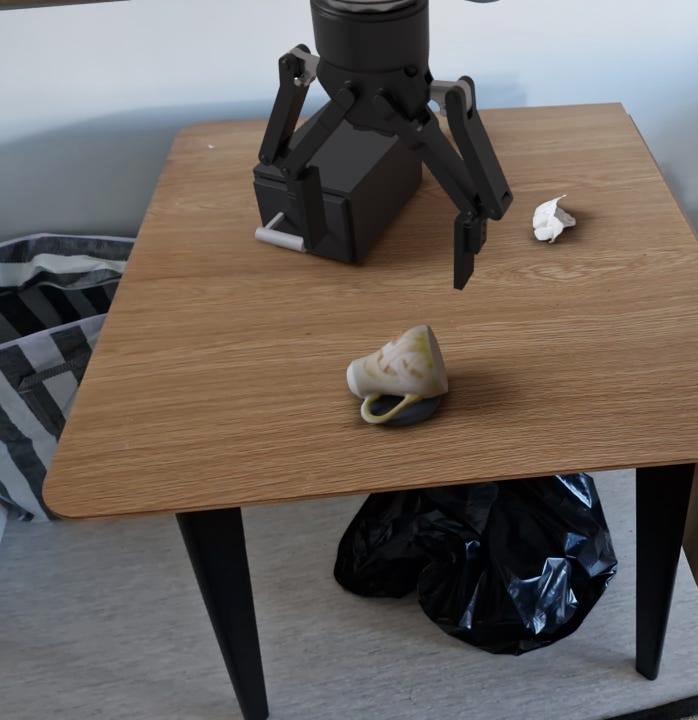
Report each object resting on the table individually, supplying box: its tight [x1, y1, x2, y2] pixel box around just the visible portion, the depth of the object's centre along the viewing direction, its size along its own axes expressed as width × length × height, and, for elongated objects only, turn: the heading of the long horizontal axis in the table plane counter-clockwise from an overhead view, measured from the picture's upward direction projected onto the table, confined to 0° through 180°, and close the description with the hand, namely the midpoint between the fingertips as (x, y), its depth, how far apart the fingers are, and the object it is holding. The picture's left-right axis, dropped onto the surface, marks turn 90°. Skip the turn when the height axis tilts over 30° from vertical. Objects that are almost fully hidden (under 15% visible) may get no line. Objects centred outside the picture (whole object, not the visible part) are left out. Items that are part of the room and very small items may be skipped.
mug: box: [346, 324, 449, 425], centre depth 71 cm, size 8×10×10 cm
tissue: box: [532, 194, 576, 244], centre depth 93 cm, size 6×8×4 cm
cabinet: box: [252, 99, 424, 264], centre depth 92 cm, size 20×13×10 cm, turn 160°
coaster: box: [360, 394, 442, 427], centre depth 73 cm, size 8×8×1 cm
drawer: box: [252, 177, 353, 263], centre depth 89 cm, size 24×11×8 cm, turn 160°
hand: (388, 260), depth 61 cm, fingers open, 13 cm apart
